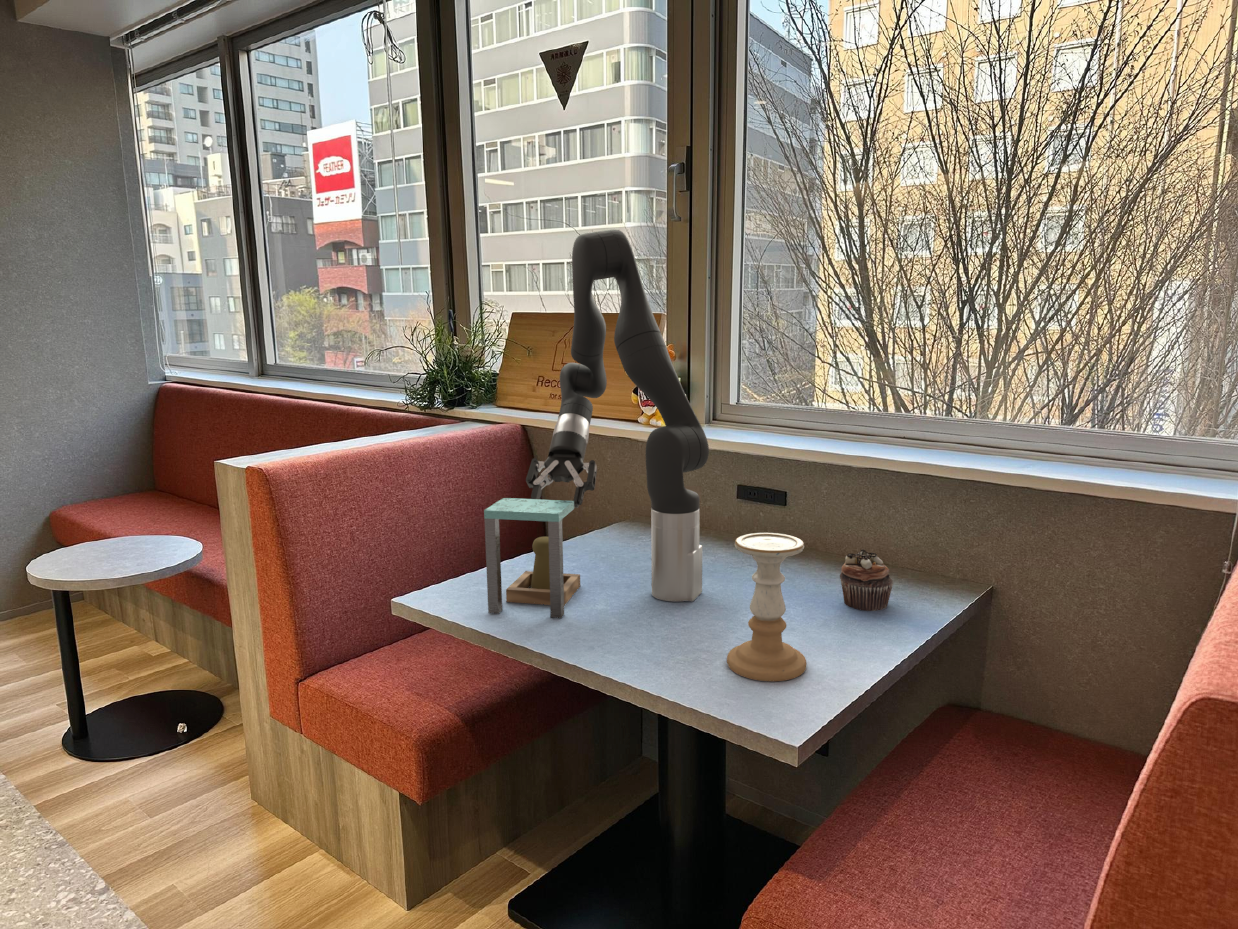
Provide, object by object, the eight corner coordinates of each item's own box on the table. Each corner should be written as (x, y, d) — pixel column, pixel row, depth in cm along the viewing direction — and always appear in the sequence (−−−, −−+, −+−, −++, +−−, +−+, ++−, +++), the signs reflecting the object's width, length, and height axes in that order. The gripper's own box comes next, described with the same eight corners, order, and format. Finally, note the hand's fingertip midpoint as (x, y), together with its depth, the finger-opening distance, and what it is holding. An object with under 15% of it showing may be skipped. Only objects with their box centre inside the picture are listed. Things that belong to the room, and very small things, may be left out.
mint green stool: (507, 595, 166) (503, 497, 163) (576, 599, 163) (573, 500, 160) (488, 613, 157) (484, 510, 153) (561, 618, 154) (558, 513, 150)
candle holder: (713, 671, 131) (715, 545, 127) (745, 644, 141) (747, 526, 138) (789, 689, 125) (793, 557, 121) (817, 659, 135) (821, 537, 131)
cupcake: (878, 617, 153) (880, 563, 151) (829, 604, 159) (831, 553, 158) (901, 603, 160) (904, 551, 158) (853, 591, 166) (856, 542, 165)
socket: (526, 582, 174) (525, 571, 173) (580, 586, 171) (580, 574, 171) (506, 602, 163) (506, 589, 162) (564, 606, 160) (564, 593, 160)
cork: (555, 598, 164) (555, 543, 162) (525, 594, 166) (525, 540, 164) (564, 588, 170) (565, 535, 168) (536, 585, 172) (536, 532, 169)
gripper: (533, 428, 180) (517, 493, 171) (599, 430, 176) (585, 496, 168) (542, 449, 186) (526, 512, 177) (605, 451, 183) (593, 515, 174)
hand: (555, 504), depth 172 cm, fingers open, 8 cm apart
